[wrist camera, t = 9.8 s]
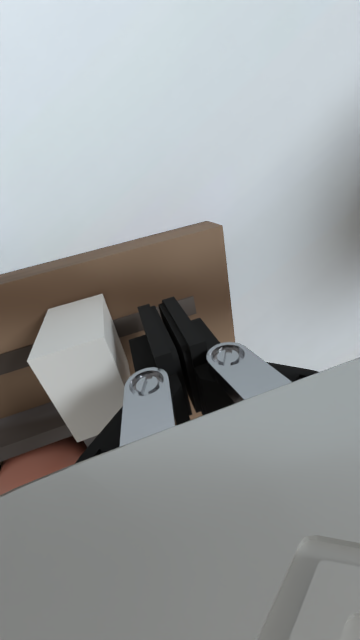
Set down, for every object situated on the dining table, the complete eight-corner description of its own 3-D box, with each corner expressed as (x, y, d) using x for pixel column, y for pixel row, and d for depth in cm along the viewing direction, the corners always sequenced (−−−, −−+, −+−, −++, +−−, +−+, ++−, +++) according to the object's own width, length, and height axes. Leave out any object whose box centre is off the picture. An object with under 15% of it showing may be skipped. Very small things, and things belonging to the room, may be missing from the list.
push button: (104, 466, 16) (105, 498, 15) (28, 495, 16) (20, 532, 14) (76, 416, 14) (73, 448, 12) (-14, 448, 13) (-30, 486, 12)
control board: (236, 436, 23) (261, 480, 19) (21, 521, 20) (5, 591, 17) (206, 221, 14) (243, 231, 10) (-184, 322, 11) (-309, 381, 8)
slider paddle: (128, 362, 14) (138, 420, 10) (82, 377, 13) (77, 442, 10) (102, 293, 12) (104, 336, 8) (48, 309, 11) (26, 360, 8)
